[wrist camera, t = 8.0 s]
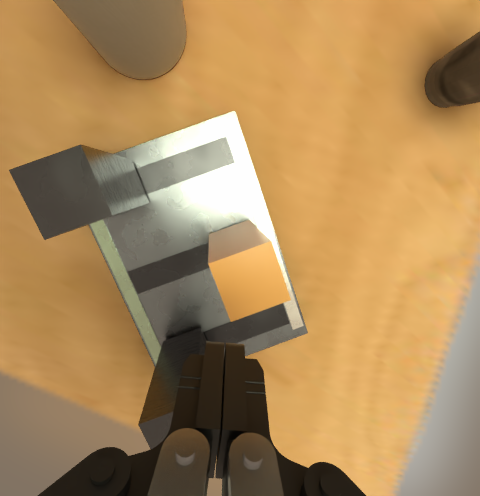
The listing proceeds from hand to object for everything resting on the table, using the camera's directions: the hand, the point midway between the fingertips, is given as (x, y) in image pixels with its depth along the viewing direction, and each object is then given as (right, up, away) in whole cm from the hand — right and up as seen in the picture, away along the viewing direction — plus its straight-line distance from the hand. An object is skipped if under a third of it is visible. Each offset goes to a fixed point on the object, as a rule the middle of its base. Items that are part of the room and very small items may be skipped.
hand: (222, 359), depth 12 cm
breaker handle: (0, +5, +18) cm, 18 cm away
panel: (-4, +4, +19) cm, 20 cm away
